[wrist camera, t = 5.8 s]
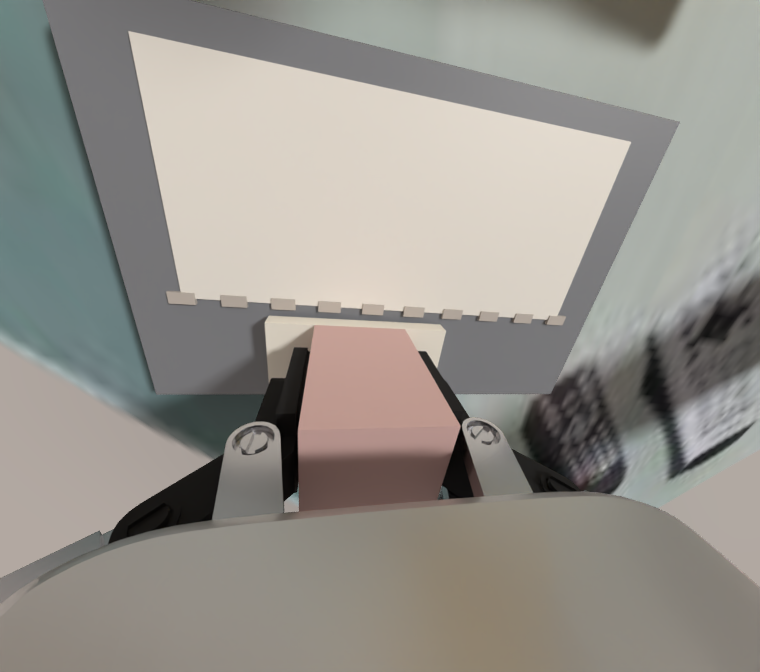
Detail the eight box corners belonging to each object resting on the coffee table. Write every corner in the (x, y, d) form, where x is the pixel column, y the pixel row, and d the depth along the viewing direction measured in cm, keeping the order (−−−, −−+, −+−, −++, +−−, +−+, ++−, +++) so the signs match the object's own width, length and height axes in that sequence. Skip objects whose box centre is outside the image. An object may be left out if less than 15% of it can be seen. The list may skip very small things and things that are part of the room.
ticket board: (642, 130, 12) (684, 120, 11) (534, 380, 18) (552, 395, 17) (79, -1, 8) (25, -45, 7) (172, 376, 14) (154, 396, 13)
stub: (440, 324, 13) (529, 424, 7) (425, 390, 15) (486, 516, 9) (268, 315, 12) (199, 432, 6) (273, 389, 13) (223, 541, 7)
